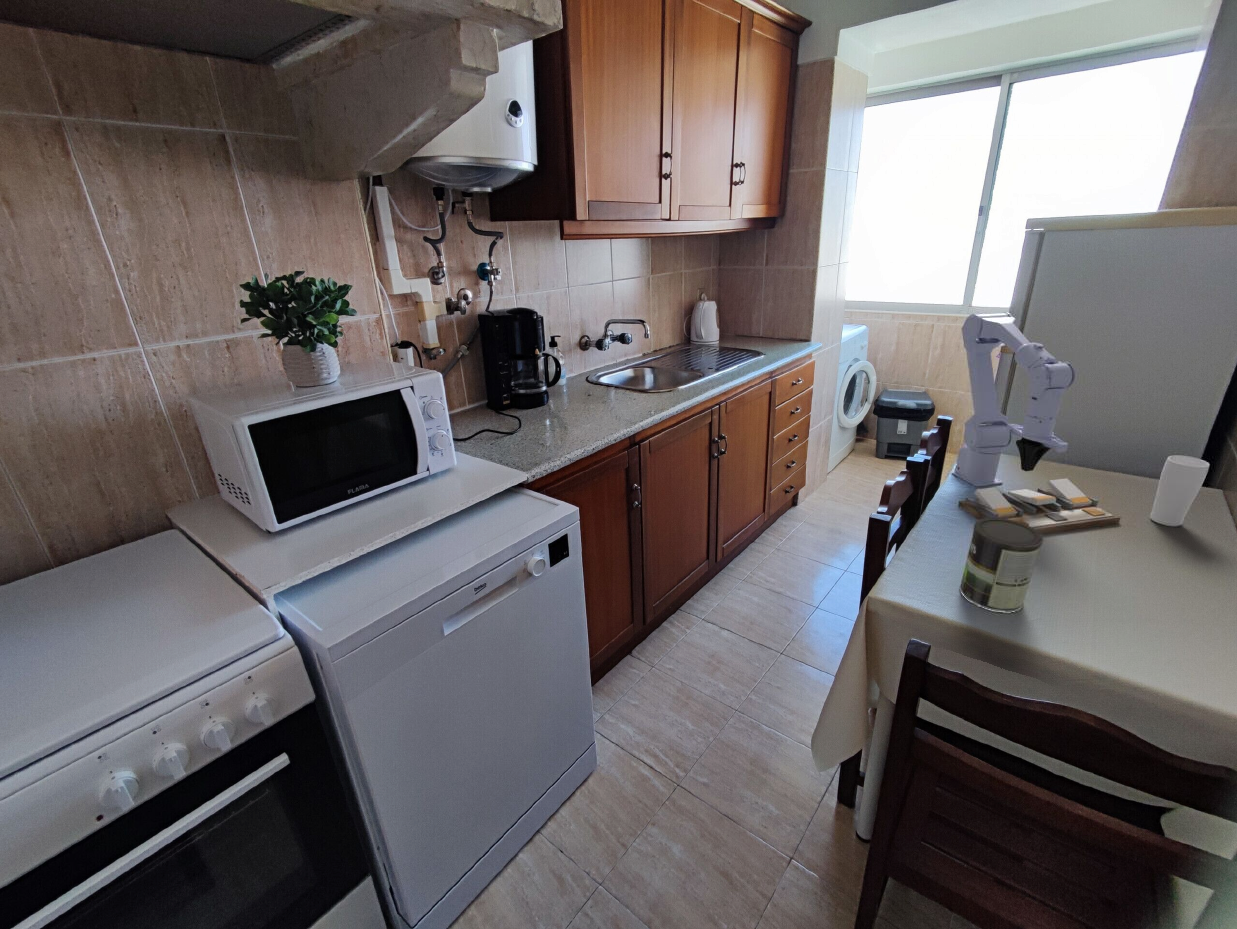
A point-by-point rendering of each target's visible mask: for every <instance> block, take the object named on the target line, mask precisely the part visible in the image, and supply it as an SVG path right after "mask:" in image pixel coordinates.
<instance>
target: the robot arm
mask: <svg viewBox="0 0 1237 929" xmlns="http://www.w3.org/2000/svg"><path fill="white" fill-rule="evenodd" d="M961 333H962V341H963V349H965V352H966V360H967V367H968V375H969V382H970V392H971V398H972V407H973V415H971V416H970V417H969V418H968V419H967V420H966V421H965V422H964V433H963V441H964V444H963V445H962V446H961V447H960V448H959V450H958V453H957V457H956V463H955V466H956V467H954V470H952V471H953V473H952V472H951V474H953V475H954V476H956V477H958V478H960V479H961V480H964V481H965V482H967V483H969V484H971V485H972V486H974V487H984V486H992V485H999V484H1003V483H1004V482H1003V481H1002V480H1000V479H998V478H997V477H996V476H997V472H998V468H999V464H1000V459H1001V455H1002V452H1005V451H1006V448H1008V447H1009V446H1010V445H1011V444H1012V443H1013V440H1014V438H1015V437H1014V436H1015V435H1017V436H1019V437H1021V438H1020V439H1017V440H1015V444H1016V447H1017V449H1018V452H1019V458H1020V459H1019V460H1020V469H1021V470H1022V471H1024V472H1030V471H1031V472H1032V471H1034V469H1035V468H1036V467H1037V465H1038V463H1039V461H1040V460H1041V458H1042V457H1043V456H1044V455H1045V454H1046V453H1048V452H1049V451H1050V450H1054V452H1056V453H1066V452H1067V450H1068V447H1069V443H1068V442H1065V441H1063V440H1061V439H1060V438H1058V437H1057V436H1056V435H1055V432H1054V428H1055V425H1056V422H1057V417H1058V415H1059V410H1060V408H1061V403H1062V401H1063V397H1064V396H1063V395H1064V393H1065V389H1068V388H1070V387H1071V386H1072V385H1073V383H1074V381H1075V380H1076V371H1075V368H1074V367H1073V365H1072V364H1071V363H1070V362H1068V361H1060V360H1057V358H1056V357H1055V356H1053V355H1052V354H1051V353H1050V352H1049V351H1047V350H1046V349H1045V348H1044V347H1045V346H1044V345H1043V344H1042V343H1038V342H1030V341H1029V340H1028V338H1026V336H1025V335H1024V334H1023V333H1022V331H1020V329H1019V328H1018V327H1017V318H1015V316H1013V315H1012V314H1011V313H1010V312H1007V311H1006V312H1005V311H1004V312H999V313H981V314H979V313H978V314H977V313H971V314H969V315H968V316H967V318H966V319H965V321H964V322H963V325H962V327H961ZM1001 344H1003V345H1005V346H1006V347H1007V348H1009V349H1010V350H1011V352H1013V353H1014V361H1015V363H1017V364H1018V366H1020V367H1021V369H1022V370H1023V371H1024V373H1026V374H1027V375H1028V384H1029V390H1028V391H1029V395H1030V397H1029V402H1028V406H1027V409H1026V410H1027V411H1026V414H1025V418H1024V422H1023V425H1019V424H1016V423H1010V420H1009V419H1010V418H1008V417H1007V416H1006V415H1005V414H1003V413H1002V412H1000V411H999V406H998V400H997V392H996V391H997V390H996V384H995V377H994V370H993V362H992V351H993V350H994V349H996V348H998V347H1000V345H1001ZM956 464H957V465H956Z"/></svg>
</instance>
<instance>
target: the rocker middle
mask: <svg viewBox="0 0 1237 929" xmlns="http://www.w3.org/2000/svg"><path fill="white" fill-rule="evenodd" d="M1035 491H1036V490H1031V489H1029V490H1028V489H1027V488H1024V489H1017V490H1010V491H1007V494H1009V495H1011V496H1013V497H1015V498H1017V499H1019V500H1022V501H1025V502H1028V503H1031V504H1035V505H1042V504H1050V503H1056V498H1055V497H1053V496H1049V495H1045V494H1041V493H1038V492H1035Z"/></svg>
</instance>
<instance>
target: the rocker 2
mask: <svg viewBox="0 0 1237 929" xmlns="http://www.w3.org/2000/svg"><path fill="white" fill-rule="evenodd" d="M1046 485H1047V486H1048V488H1049V489H1052V490H1053V491H1054V492H1055V493H1056V494H1057V495H1058V496H1059V497H1061V498H1063V499H1065V500H1067V501H1070V502H1072V503H1074V506H1073V508H1074V507H1081V506H1089V505H1090V504H1091V503H1092V501H1091V500H1090V499H1089V498H1087V497H1086V496H1085V495H1086V494H1085V493H1083V492H1082V491H1081V490H1080V489H1079V488H1078V487H1077V486H1076V485H1075V484H1074V483H1072V482H1071V481H1070V480H1069V479H1068V478H1067V477H1066V478H1059V479H1052V480H1051V479H1049V480H1048V481H1047V482H1046ZM1084 494H1085V495H1084Z"/></svg>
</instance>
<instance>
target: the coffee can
mask: <svg viewBox="0 0 1237 929" xmlns="http://www.w3.org/2000/svg"><path fill="white" fill-rule="evenodd" d="M1043 542H1044V537H1043V534H1040V533H1039V532H1038V531H1037V530H1035V529H1034V528H1032V527H1030V526H1028V525H1025V524H1023V523H1020V522H1017V521H1013V520H1008V519H1002V518H985V519H978V520H977V521H975V522H974V524H973V532H972V536H971V541H970V545H969V549H968V554H967V557H966V562H965V564H964V570H963V574H962V578H961V583H960V586H959V588H960V590H961V592H962V593H963V594H964V596H965V597H966V598H967V599H968V600H970V601H972V602H973V603H974V604H976V605H980V606H981V607H984V608H987V609H991V610H995V611H1005V612H1012V611H1017V610H1020V609H1021V608H1022V609H1023V608H1024V603H1025V600H1026V596H1027V593H1028V590H1029V589H1028V588H1029V586H1030V582H1031V579H1032V576H1033V572H1034V569H1035V565H1036V563H1037V560H1038V555H1039V552H1040V548H1041V546H1042V545H1043ZM960 590H959V591H960ZM1022 609H1021V610H1022ZM1021 610H1020V611H1021Z"/></svg>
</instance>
